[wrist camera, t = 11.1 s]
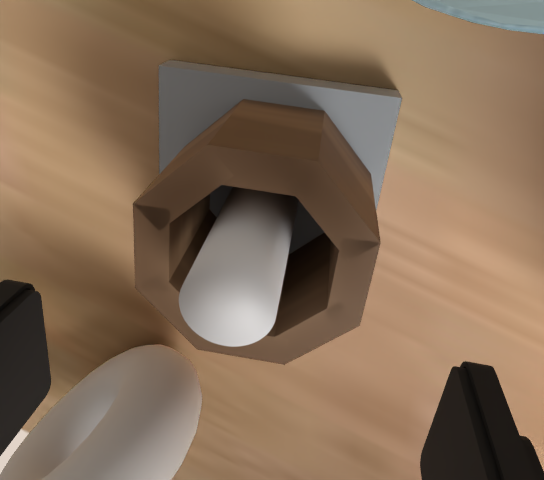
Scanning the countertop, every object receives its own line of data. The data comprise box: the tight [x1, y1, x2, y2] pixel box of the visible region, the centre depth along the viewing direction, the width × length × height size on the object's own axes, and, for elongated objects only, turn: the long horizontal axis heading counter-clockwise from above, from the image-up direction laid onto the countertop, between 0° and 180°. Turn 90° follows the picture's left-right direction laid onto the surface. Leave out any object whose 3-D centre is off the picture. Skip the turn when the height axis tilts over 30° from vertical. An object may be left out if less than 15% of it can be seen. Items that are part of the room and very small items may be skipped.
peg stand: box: [159, 60, 402, 347], centre depth 16 cm, size 8×8×8 cm
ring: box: [133, 99, 380, 365], centre depth 16 cm, size 7×7×5 cm
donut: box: [0, 344, 202, 480], centre depth 20 cm, size 10×4×10 cm, turn 128°
